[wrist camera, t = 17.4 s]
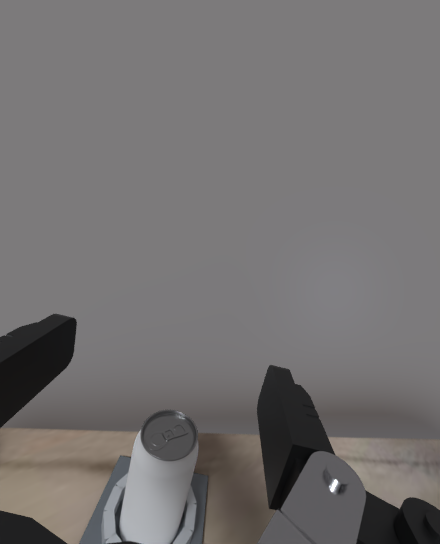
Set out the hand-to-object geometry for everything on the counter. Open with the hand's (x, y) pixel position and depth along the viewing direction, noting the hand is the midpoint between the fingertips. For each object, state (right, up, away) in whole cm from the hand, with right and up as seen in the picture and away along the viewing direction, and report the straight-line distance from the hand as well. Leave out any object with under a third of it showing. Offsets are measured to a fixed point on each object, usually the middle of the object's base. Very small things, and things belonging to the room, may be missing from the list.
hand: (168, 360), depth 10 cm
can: (-6, -24, +17) cm, 30 cm away
